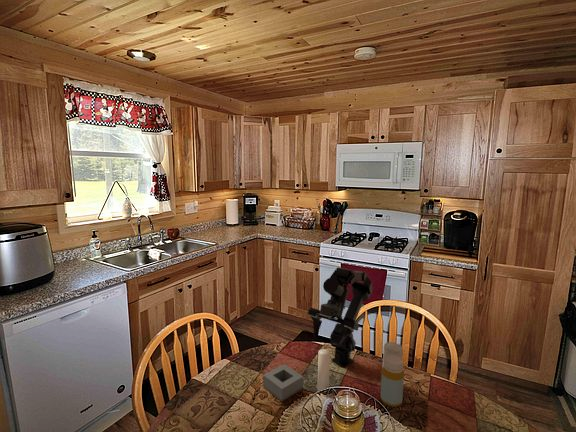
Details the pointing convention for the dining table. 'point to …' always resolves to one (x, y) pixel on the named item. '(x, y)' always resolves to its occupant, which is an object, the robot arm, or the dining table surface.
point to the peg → (323, 369)
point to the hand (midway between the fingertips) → (326, 342)
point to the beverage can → (392, 350)
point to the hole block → (283, 382)
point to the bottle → (392, 380)
